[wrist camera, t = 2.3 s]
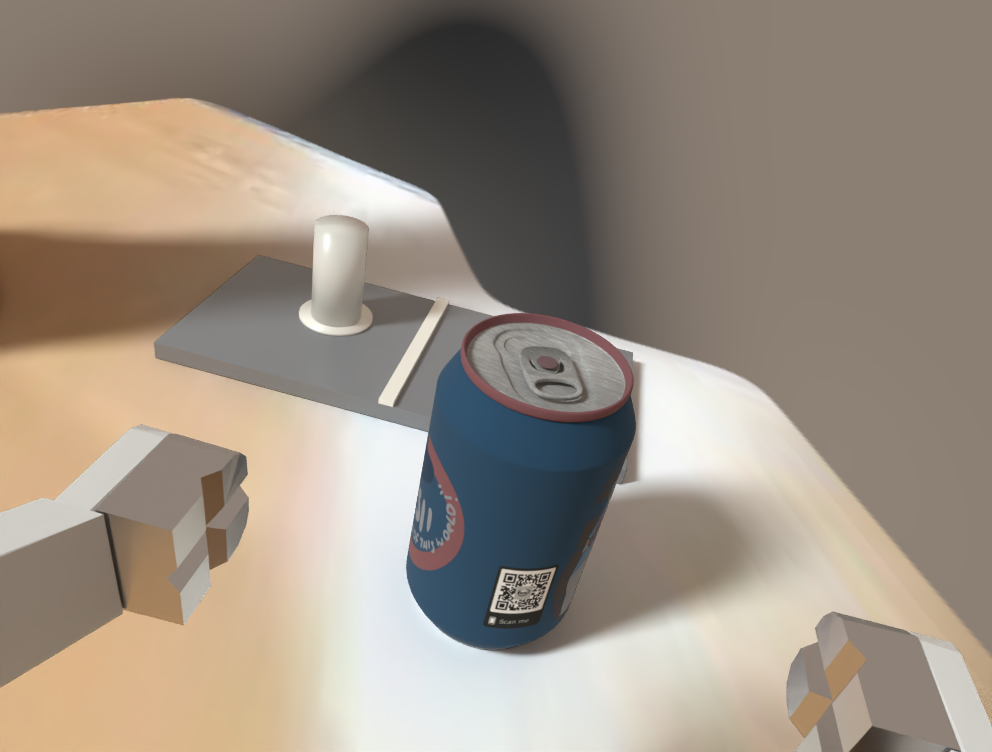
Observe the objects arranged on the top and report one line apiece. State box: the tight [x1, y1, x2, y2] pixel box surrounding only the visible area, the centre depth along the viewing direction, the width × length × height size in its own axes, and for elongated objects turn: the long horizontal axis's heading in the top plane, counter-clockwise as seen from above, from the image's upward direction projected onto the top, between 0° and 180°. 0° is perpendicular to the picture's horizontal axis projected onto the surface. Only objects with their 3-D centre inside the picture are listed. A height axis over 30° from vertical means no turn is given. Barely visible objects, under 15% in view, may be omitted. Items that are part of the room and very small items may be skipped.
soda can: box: [406, 313, 636, 650], centre depth 26 cm, size 7×7×12 cm
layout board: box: [154, 215, 633, 484], centre depth 40 cm, size 26×12×7 cm, turn 79°
